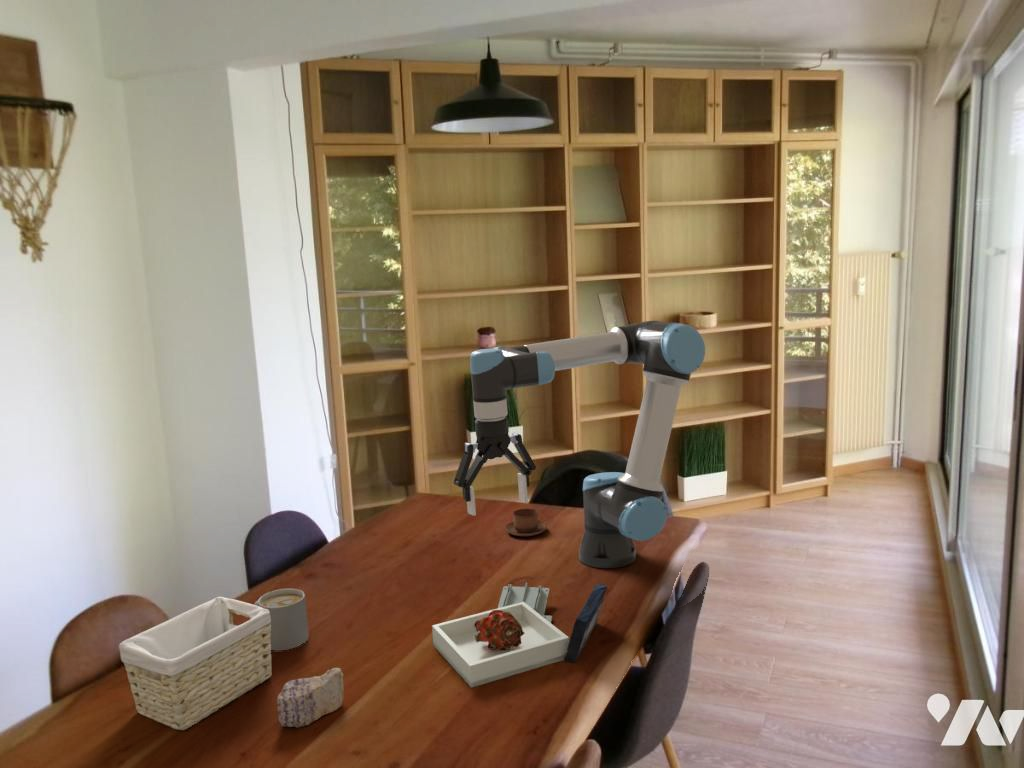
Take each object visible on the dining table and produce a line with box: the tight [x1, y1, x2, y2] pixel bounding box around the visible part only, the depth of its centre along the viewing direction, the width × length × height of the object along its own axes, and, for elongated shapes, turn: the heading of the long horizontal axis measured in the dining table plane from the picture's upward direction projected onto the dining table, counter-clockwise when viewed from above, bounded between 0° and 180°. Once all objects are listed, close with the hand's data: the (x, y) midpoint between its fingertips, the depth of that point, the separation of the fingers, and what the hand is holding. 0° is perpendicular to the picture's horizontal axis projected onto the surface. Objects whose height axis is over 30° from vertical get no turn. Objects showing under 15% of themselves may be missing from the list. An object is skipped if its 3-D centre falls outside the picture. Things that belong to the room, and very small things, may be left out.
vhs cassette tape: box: [563, 582, 608, 664], centre depth 174 cm, size 18×3×10 cm, turn 159°
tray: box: [431, 602, 570, 688], centre depth 172 cm, size 22×20×4 cm
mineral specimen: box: [276, 667, 345, 729], centre depth 152 cm, size 14×8×7 cm, turn 139°
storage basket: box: [118, 596, 273, 731], centre depth 159 cm, size 24×16×15 cm
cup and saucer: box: [505, 508, 547, 537], centre depth 242 cm, size 12×12×6 cm
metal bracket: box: [497, 582, 553, 624], centre depth 190 cm, size 14×6×15 cm
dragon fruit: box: [472, 609, 525, 651], centre depth 172 cm, size 8×8×12 cm
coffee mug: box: [253, 588, 310, 650], centre depth 182 cm, size 13×10×10 cm
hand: (498, 507), depth 190 cm, fingers open, 13 cm apart
